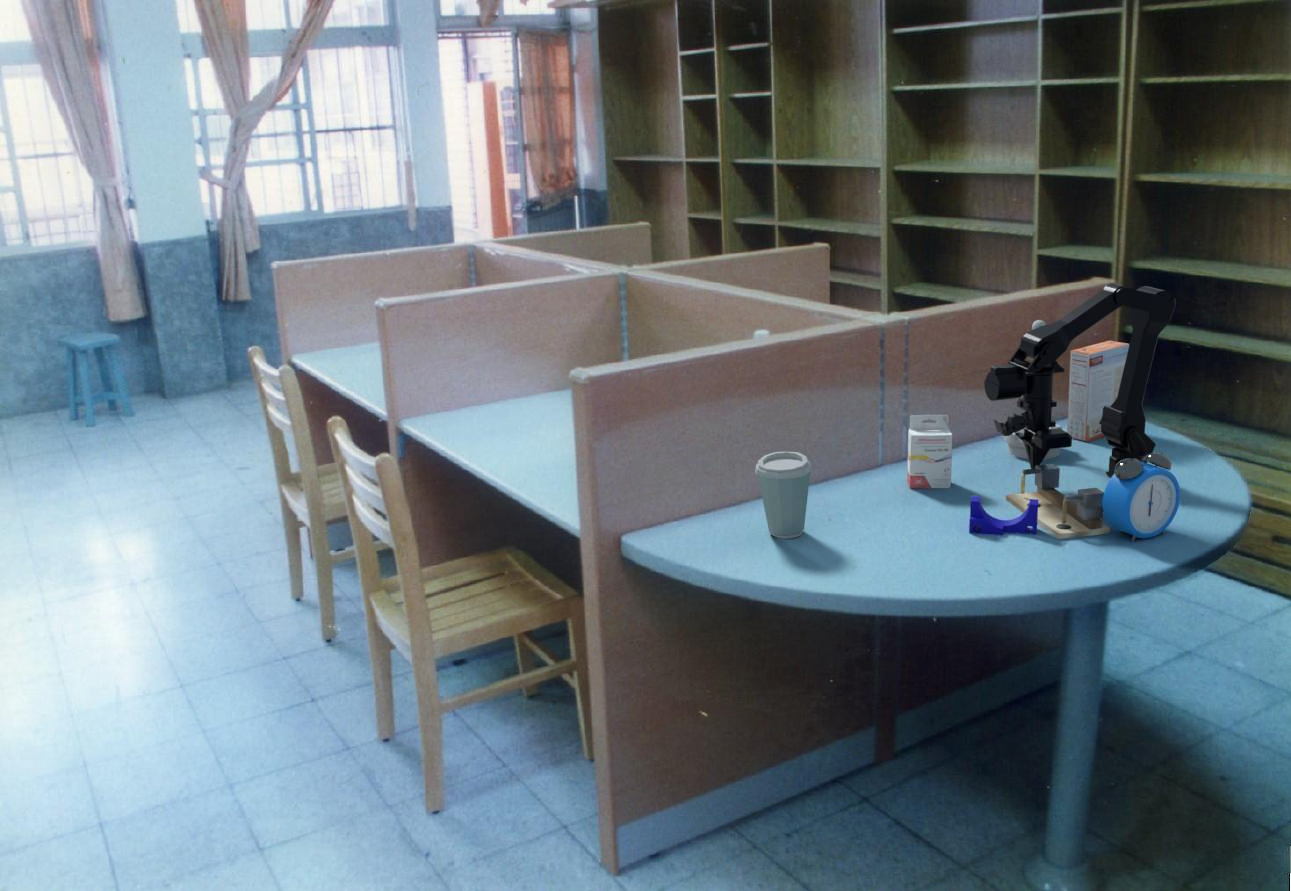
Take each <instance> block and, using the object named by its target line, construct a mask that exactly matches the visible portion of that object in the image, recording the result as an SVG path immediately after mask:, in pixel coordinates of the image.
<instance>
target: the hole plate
mask: <svg viewBox="0 0 1291 891" xmlns="http://www.w3.org/2000/svg"><path fill="white" fill-rule="evenodd" d="M1036 487H1037V486H1036ZM1103 495H1104V491H1102V490H1101V489H1099V488H1097V487H1091V488H1081V489H1077V494H1068V495H1065V494H1063V493H1062V492H1061V491H1059V490H1058V489H1057V488H1050V489H1040V488H1039V487H1037V488H1036V491H1034V492H1033V491H1032V492H1024V494H1021V493H1014V494H1013V493H1012V494H1006V495H1005V501H1007V502H1008V503H1009V504H1011V505H1012V506H1014V507H1015V508H1016V509H1017V510H1019V511H1020V512H1022V514H1023V513H1024V512H1025V511H1026V509H1027V508H1028V506H1029V502H1030V499H1037V500H1038V519H1037V525H1038V526H1040V527H1042V528H1043V529H1044V530H1045V531H1047V533H1050V534H1051V535H1052V536H1054V537H1055V538H1056V539H1057V540H1064V539H1075V538H1081V537H1082V538H1083V537H1090V536H1098V535H1099V536H1100V535H1109V534H1110V533H1111V528H1110V527H1108V525H1105V524H1104V523H1103V519H1104V512H1103ZM1075 501H1076V502H1075Z"/></svg>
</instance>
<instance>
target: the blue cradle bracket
mask: <svg viewBox="0 0 1291 891" xmlns="http://www.w3.org/2000/svg"><path fill="white" fill-rule="evenodd" d="M970 497H971V498H970V505H969V506H970V507H969V508H970V510H969V511H970V512H969V524H968V527H969V528H968V529H969V530H968V532H969V534H978V535H979V534H980V535H991V536H1004V533H1006V534H1007V533H1009V534H1019V535H1020V534H1022V535H1037V534H1038V523H1037V519H1038V500H1037V499H1030V502H1029V506H1028V508H1027V509H1026V511H1025V512H1024V513H1023V512H1022V514H1021V515H1019V516H1017V517H1015V518H1013V519H1012V518H1011V519H1005V520H1004V519H999V518H997V517H993V516H992V515H990V514H989V513H988V512H987V511H986V510H985V509H984V508H983V505H982V502H981V496H980V495H971V496H970ZM992 534H993V535H992Z"/></svg>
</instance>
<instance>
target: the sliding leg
mask: <svg viewBox="0 0 1291 891" xmlns="http://www.w3.org/2000/svg"><path fill="white" fill-rule="evenodd" d="M1060 471H1061V468H1060V467H1058V466H1057V465H1055V464H1054V463H1047V464H1041V465H1036V466H1035V469H1031V468H1027V469H1022V473H1021V478H1020V479H1021V480H1020V494H1024V493H1026V492H1025V489H1026V488H1025V487H1026V476H1027V475H1033V474H1034V486H1035V487H1039V488H1040V489H1050V488H1055V489H1058V488H1060Z"/></svg>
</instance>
